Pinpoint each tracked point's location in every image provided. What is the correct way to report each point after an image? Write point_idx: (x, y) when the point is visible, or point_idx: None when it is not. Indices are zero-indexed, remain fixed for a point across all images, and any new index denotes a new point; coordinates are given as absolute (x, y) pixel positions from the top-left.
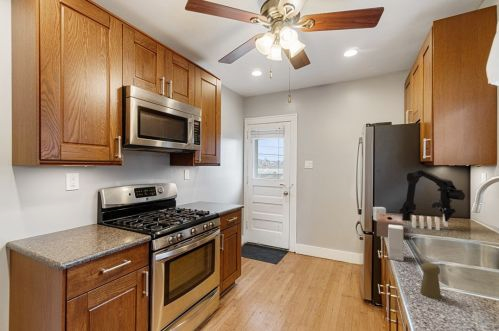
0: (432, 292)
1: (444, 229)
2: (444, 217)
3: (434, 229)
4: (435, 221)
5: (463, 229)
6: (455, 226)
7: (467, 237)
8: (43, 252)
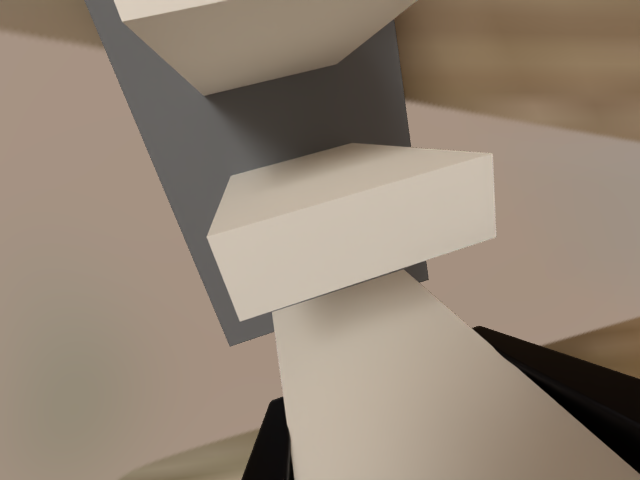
0: None
1: None
2: (352, 461)
3: (247, 143)
4: (338, 168)
5: None
6: (623, 327)
7: (159, 471)
8: None
